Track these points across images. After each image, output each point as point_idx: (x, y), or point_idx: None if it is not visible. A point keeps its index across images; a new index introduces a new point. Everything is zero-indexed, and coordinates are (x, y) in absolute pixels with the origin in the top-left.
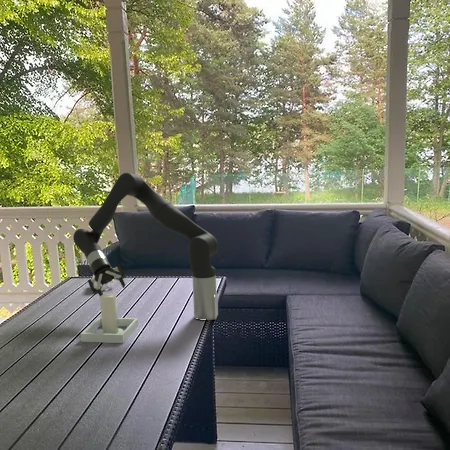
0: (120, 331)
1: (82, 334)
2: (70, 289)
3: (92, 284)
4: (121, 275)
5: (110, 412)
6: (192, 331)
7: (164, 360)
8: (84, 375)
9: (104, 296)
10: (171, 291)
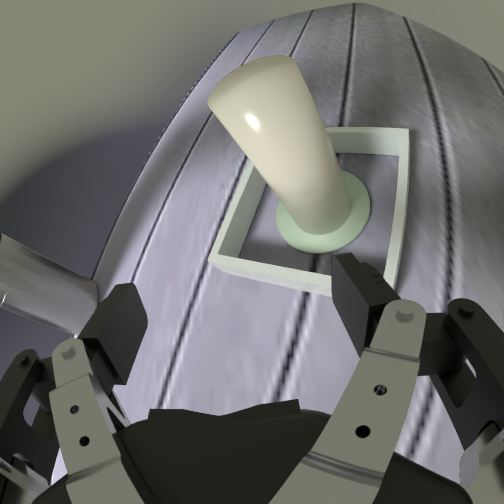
0: (285, 214)
1: (402, 131)
2: None
3: (493, 373)
4: (51, 370)
5: (278, 31)
6: (125, 224)
7: (203, 109)
8: (331, 53)
9: (270, 70)
10: None
